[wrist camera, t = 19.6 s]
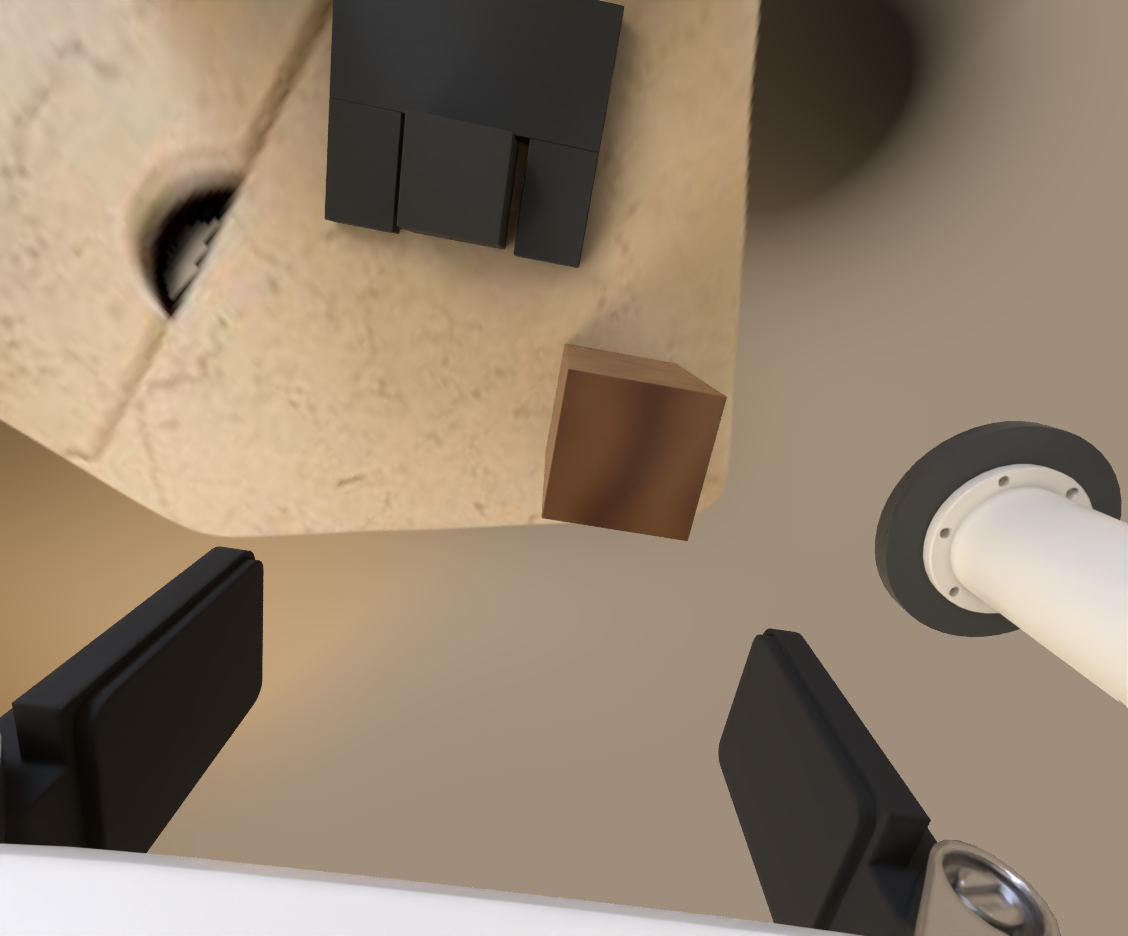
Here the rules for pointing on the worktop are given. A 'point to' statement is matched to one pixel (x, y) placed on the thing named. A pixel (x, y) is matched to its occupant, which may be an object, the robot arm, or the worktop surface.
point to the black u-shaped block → (473, 102)
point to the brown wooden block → (628, 443)
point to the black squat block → (456, 179)
